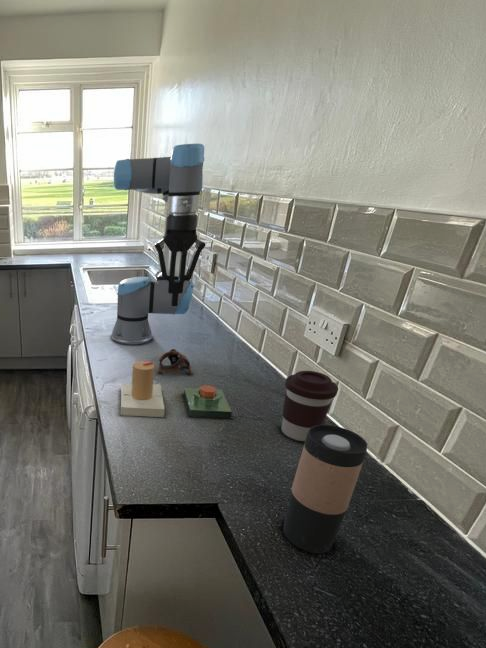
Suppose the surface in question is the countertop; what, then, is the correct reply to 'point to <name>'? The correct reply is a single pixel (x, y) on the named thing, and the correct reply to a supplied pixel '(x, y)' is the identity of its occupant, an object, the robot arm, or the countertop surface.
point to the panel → (142, 402)
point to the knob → (142, 380)
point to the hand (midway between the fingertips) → (173, 304)
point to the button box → (206, 404)
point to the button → (207, 391)
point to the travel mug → (323, 486)
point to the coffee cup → (306, 402)
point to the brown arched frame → (174, 362)
